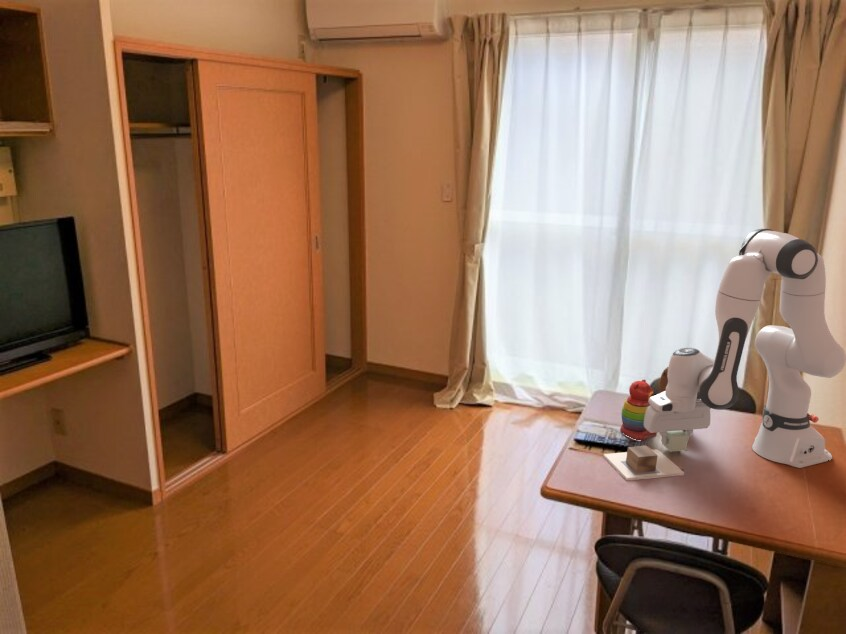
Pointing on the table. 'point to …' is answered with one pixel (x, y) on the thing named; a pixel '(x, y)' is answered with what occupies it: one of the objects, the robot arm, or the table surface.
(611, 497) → the table surface
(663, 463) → the white flat board
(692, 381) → the robot arm
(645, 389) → the stacking bear
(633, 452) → the walnut cube
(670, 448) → the sage cube
